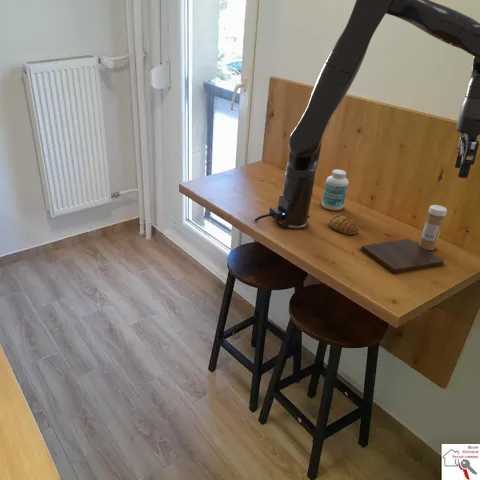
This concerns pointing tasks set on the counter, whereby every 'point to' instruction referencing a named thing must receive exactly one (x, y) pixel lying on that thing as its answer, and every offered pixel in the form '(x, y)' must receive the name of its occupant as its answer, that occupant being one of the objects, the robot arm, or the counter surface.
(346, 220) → the pastry
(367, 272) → the counter surface
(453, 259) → the counter surface
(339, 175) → the pill bottle
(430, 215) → the sprinkles bottle
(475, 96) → the robot arm
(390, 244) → the walnut board
